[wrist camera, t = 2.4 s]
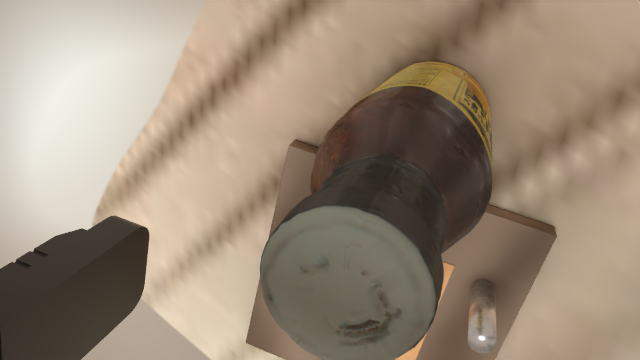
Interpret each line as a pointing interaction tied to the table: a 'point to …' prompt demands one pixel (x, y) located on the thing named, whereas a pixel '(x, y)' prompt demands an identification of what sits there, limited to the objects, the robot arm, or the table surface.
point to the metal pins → (482, 316)
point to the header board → (459, 273)
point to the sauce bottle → (382, 216)
